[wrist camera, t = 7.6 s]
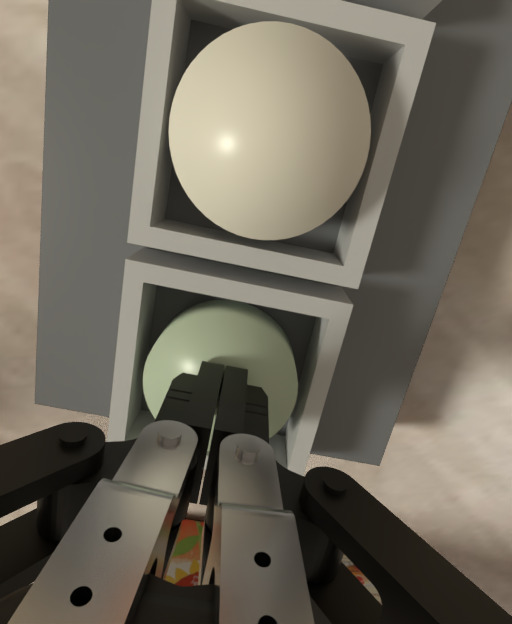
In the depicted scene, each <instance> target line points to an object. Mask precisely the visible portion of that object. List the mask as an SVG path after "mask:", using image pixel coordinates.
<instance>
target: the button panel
mask: <svg viewBox="0 0 512 624" xmlns="http://www.w3.org/2000/svg"><path fill="white" fill-rule="evenodd" d="M263 21H279V22H285V23H292V24H295V25H298V26H302V27H305V28H307V29H309V30H311V31H313V32H315V33H317V34H319V35H321V36H322V37H324V38H325V39H326V40H328V41H329V42H331V43H332V44H333V45H334V46H335V47H336V48H337V49H338V50H339V51H340V52H341V53H342V54H343V55H344V56H345V57H346V59H347V60H348V61H349V62H350V64H351V65H352V67H353V69H354V70H355V72H356V73H357V75H358V77H359V79H360V82H361V84H362V86H363V88H364V91H365V95H366V98H367V102H368V106H369V112H370V120H371V138H370V148H369V153H368V157H367V162H366V165H365V168H364V170H363V173H362V176H361V178H360V180H359V182H358V184H357V186H356V188H355V189H354V191H353V192H352V194H351V196H350V197H349V199H348V200H347V201H346V202H345V203H344V205H343V206H342V207H341V208H340V209H339V210H338V211H337V212H336V213H335V214H334V215H333V216H332V217H331V218H329V219H328V220H327V221H325V222H324V223H323V224H321V225H320V226H318V227H316V228H314V229H312V230H311V231H308V232H306V233H303V234H301V235H298V236H295V237H291V238H287V239H280V240H257V239H250V238H246V237H243V236H239V235H236V234H234V233H231V232H229V231H227V230H225V229H223V228H222V227H220V226H218V225H216V224H215V223H214V222H212V221H211V220H210V219H208V218H207V217H206V216H205V215H204V214H203V213H202V212H201V211H200V210H199V209H198V208H197V207H196V206H195V205H194V203H193V202H192V201H191V200H190V198H189V197H188V195H187V194H186V192H185V190H184V189H183V187H182V185H181V183H180V181H179V179H178V176H177V174H176V172H175V168H174V165H173V162H172V158H171V152H170V147H169V117H170V112H171V107H172V102H173V99H174V96H175V93H176V89H177V87H178V85H179V83H180V81H181V79H182V76H183V75H184V73H185V72H186V70H187V68H188V67H189V65H190V64H191V62H192V61H193V60H194V59H195V58H196V56H197V55H198V54H199V53H200V52H201V51H202V50H203V49H204V48H205V47H206V46H207V45H208V44H210V43H211V42H212V41H214V40H215V39H217V38H218V37H219V36H221V35H222V34H224V33H226V32H228V31H230V30H233V29H235V28H237V27H240V26H243V25H247V24H250V23H256V22H263ZM511 102H512V0H49V5H48V34H47V63H46V92H45V122H44V151H43V180H42V209H41V239H40V268H39V297H38V326H37V356H36V385H35V404H39V405H45V406H50V407H56V408H61V409H67V410H73V411H78V412H84V413H89V414H95V415H100V416H106V417H109V425H108V435H107V442H114V441H127V440H132V439H136V438H138V436H139V435H140V433H141V432H142V430H143V429H144V428H145V427H146V426H147V425H149V424H151V423H153V422H155V418H154V417H153V415H152V413H151V411H150V409H149V407H148V405H147V402H146V399H145V395H144V391H143V372H144V367H145V363H146V360H147V357H148V355H149V353H150V351H151V349H152V348H153V346H154V344H155V343H156V341H157V340H158V338H159V336H160V335H161V333H162V332H163V330H164V329H165V327H166V326H167V325H168V323H169V322H170V321H171V320H172V319H173V318H174V317H175V316H177V315H178V314H179V313H181V312H182V311H184V310H185V309H187V308H189V307H191V306H193V305H196V304H198V303H202V302H206V301H212V300H232V301H239V302H242V303H246V304H249V305H251V306H254V307H256V308H258V309H260V310H261V311H263V312H265V313H266V314H267V315H269V316H270V317H272V318H273V319H274V320H275V321H276V322H277V323H278V324H279V326H280V327H281V328H282V329H283V331H284V332H285V334H286V336H287V337H288V339H289V342H290V344H291V346H292V350H293V354H294V360H295V366H296V372H297V379H298V394H297V399H296V403H295V406H294V409H293V411H292V413H291V415H290V417H289V419H288V420H287V422H286V423H285V424H284V426H283V427H282V428H281V429H280V430H279V431H278V432H277V433H276V434H275V435H273V436H272V437H271V438H269V445H270V446H271V447H272V449H273V451H274V454H275V459H276V461H277V462H278V463H279V464H281V465H282V466H283V467H285V468H286V469H288V470H290V471H292V472H295V473H297V474H299V475H302V476H303V475H304V472H305V468H306V465H307V461H308V458H309V455H310V454H316V455H322V456H327V457H333V458H338V459H344V460H349V461H355V462H360V463H366V464H371V465H377V466H380V463H381V460H382V457H383V455H384V452H385V449H386V446H387V444H388V441H389V438H390V435H391V433H392V430H393V427H394V424H395V422H396V419H397V416H398V413H399V411H400V408H401V405H402V402H403V399H404V397H405V394H406V391H407V388H408V386H409V383H410V380H411V377H412V375H413V372H414V369H415V366H416V364H417V361H418V358H419V355H420V353H421V350H422V347H423V344H424V342H425V339H426V336H427V333H428V331H429V328H430V325H431V322H432V320H433V317H434V314H435V311H436V309H437V306H438V303H439V300H440V298H441V295H442V292H443V289H444V287H445V284H446V281H447V278H448V276H449V273H450V270H451V267H452V265H453V262H454V259H455V256H456V253H457V251H458V248H459V245H460V242H461V240H462V237H463V234H464V231H465V229H466V226H467V223H468V220H469V218H470V215H471V212H472V209H473V207H474V204H475V201H476V198H477V196H478V193H479V190H480V187H481V185H482V182H483V179H484V176H485V174H486V171H487V168H488V165H489V163H490V160H491V157H492V154H493V152H494V149H495V146H496V143H497V141H498V138H499V135H500V132H501V130H502V127H503V124H504V121H505V118H506V116H507V113H508V110H509V107H510V105H511ZM208 456H209V451H207V455H206V460H205V465H204V470H206V467H207V461H208Z"/></svg>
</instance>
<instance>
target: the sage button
mask: <svg viewBox="0 0 512 624" xmlns="http://www.w3.org/2000/svg"><path fill="white" fill-rule="evenodd" d="M202 361H206V362H211V363H217V364H222V365H224V368H223V373H222V379H221V384H220V389H219V394H218V399H217V404H216V409H215V414H214V419H213V424H212V429H211V434H210V440H209V445H208V450H207V451H210V445H211V440H212V435H213V429H214V424H215V419H216V414H217V409H218V404H219V399H220V394H221V389H222V384H223V379H224V374H225V369H226V365H227V366H233V367H238V368H243V369H248V378H247V385H252V386H257V387H262V389H263V390H264V392H265V393H266V395H267V396H268V414H269V415H268V417H269V438H271V437H272V436H273V435H275V434H276V433H277V432H278V431H279V430H280V429H281V428H282V427H283V426H284V424H285V423H286V422H287V420H288V419H289V417H290V415H291V413H292V411H293V409H294V406H295V403H296V399H297V394H298V379H297V372H296V366H295V360H294V354H293V350H292V346H291V344H290V342H289V339H288V337H287V336H286V334H285V332H284V331H283V329H282V328H281V327H280V326H279V324H278V323H277V322H276V321H275V320H274V319H273V318H272V317H270V316H269V315H267V314H266V313H265V312H263V311H261V310H260V309H258V308H256V307H254V306H251V305H249V304H246V303H242V302H239V301H232V300H212V301H206V302H202V303H198V304H196V305H193V306H191V307H189V308H187V309H185V310H184V311H182V312H181V313H179V314H178V315H177V316H175V317H174V318H173V319H172V320H171V321H170V322H169V323H168V325H167V326H166V327H165V329H164V330H163V332H162V333H161V335H160V336H159V338H158V340H157V341H156V343H155V344H154V346H153V348H152V349H151V351H150V353H149V355H148V357H147V360H146V363H145V367H144V372H143V391H144V395H145V399H146V402H147V405H148V407H149V409H150V411H151V413H152V415H153V417H154V418H155V419H156V417H157V415H158V412H159V410H160V408H161V405H162V403H163V401H164V398H165V397H166V394H167V391H168V390H169V387H170V385H171V382H172V380H173V379H174V378H175V377H177V376H178V375H180V374H181V373H188V374H193V375H198V372H199V369H200V366H201V363H202Z"/></svg>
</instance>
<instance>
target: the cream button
mask: <svg viewBox="0 0 512 624" xmlns="http://www.w3.org/2000/svg"><path fill="white" fill-rule="evenodd" d="M370 138H371V120H370V112H369V106H368V102H367V98H366V95H365V91H364V88H363V86H362V84H361V82H360V79H359V77H358V75H357V73H356V72H355V70H354V69H353V67H352V65H351V64H350V62H349V61H348V60H347V59H346V57H345V56H344V55H343V54H342V53H341V52H340V51H339V50H338V49H337V48H336V47H335V46H334V45H333V44H332V43H331V42H329V41H328V40H326V39H325V38H324V37H322V36H321V35H319V34H317V33H315V32H313V31H311V30H309V29H307V28H305V27H302V26H298V25H295V24H292V23H285V22H279V21H263V22H256V23H250V24H247V25H243V26H240V27H237V28H235V29H233V30H230V31H228V32H226V33H224V34H222V35H221V36H219V37H218V38H217V39H215V40H214V41H212V42H211V43H210V44H208V45H207V46H206V47H205V48H204V49H203V50H202V51H201V52H200V53H199V54H198V55H197V56H196V58H195V59H194V60H193V61H192V62H191V64H190V65H189V67H188V68H187V70H186V72H185V73H184V75H183V76H182V79H181V81H180V83H179V85H178V87H177V89H176V93H175V96H174V99H173V102H172V107H171V112H170V117H169V147H170V152H171V158H172V162H173V165H174V168H175V172H176V174H177V176H178V179H179V181H180V183H181V185H182V187H183V189H184V190H185V192H186V194H187V195H188V197H189V198H190V200H191V201H192V202H193V203H194V205H195V206H196V207H197V208H198V209H199V210H200V211H201V212H202V213H203V214H204V215H205V216H206V217H207V218H208V219H210V220H211V221H212V222H214V223H215V224H216V225H218V226H220V227H222V228H223V229H225V230H227V231H229V232H231V233H234V234H236V235H239V236H243V237H246V238H250V239H257V240H280V239H287V238H291V237H295V236H298V235H301V234H303V233H306V232H308V231H311V230H312V229H314V228H316V227H318V226H320V225H321V224H323V223H324V222H325V221H327V220H328V219H329V218H331V217H332V216H333V215H334V214H335V213H336V212H337V211H338V210H339V209H340V208H341V207H342V206H343V205H344V203H345V202H346V201H347V200H348V199H349V197H350V196H351V194H352V192H353V191H354V189H355V188H356V186H357V184H358V182H359V180H360V178H361V176H362V173H363V170H364V168H365V165H366V162H367V157H368V153H369V148H370Z"/></svg>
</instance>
